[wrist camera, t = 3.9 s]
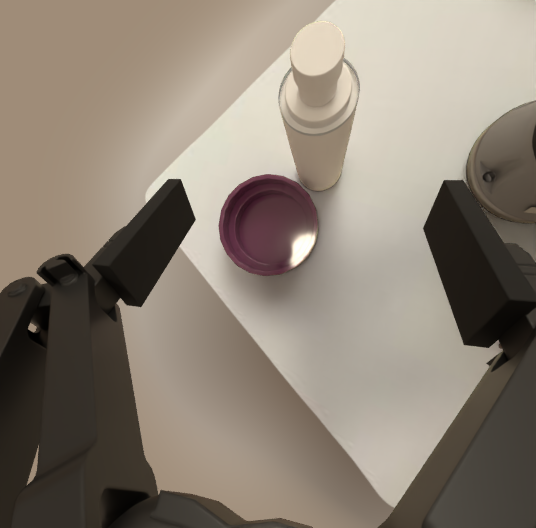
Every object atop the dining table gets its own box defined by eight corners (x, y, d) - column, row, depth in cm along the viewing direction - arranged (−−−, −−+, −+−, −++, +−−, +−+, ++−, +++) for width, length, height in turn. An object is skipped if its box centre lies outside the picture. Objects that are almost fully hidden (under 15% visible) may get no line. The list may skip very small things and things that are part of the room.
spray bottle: (289, 167, 40) (241, 28, 16) (324, 138, 39) (329, -58, 15) (314, 200, 40) (304, 107, 15) (350, 172, 39) (401, 23, 14)
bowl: (256, 170, 42) (246, 157, 36) (334, 209, 39) (336, 202, 34) (217, 247, 43) (203, 245, 38) (290, 289, 41) (285, 293, 36)
